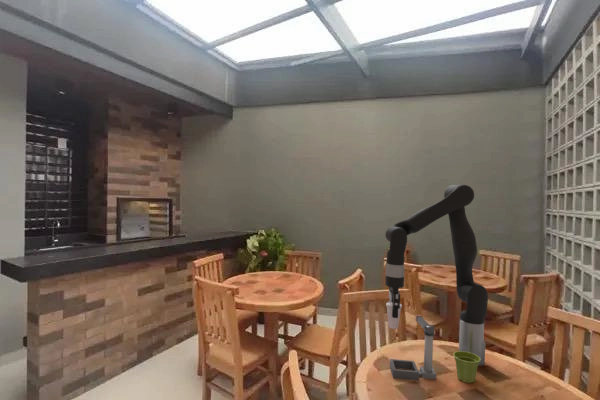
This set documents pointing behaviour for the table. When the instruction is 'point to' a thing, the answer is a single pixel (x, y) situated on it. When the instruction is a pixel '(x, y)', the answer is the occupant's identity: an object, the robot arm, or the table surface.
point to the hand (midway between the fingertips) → (393, 314)
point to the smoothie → (392, 321)
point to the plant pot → (466, 365)
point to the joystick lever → (425, 325)
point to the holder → (415, 373)
